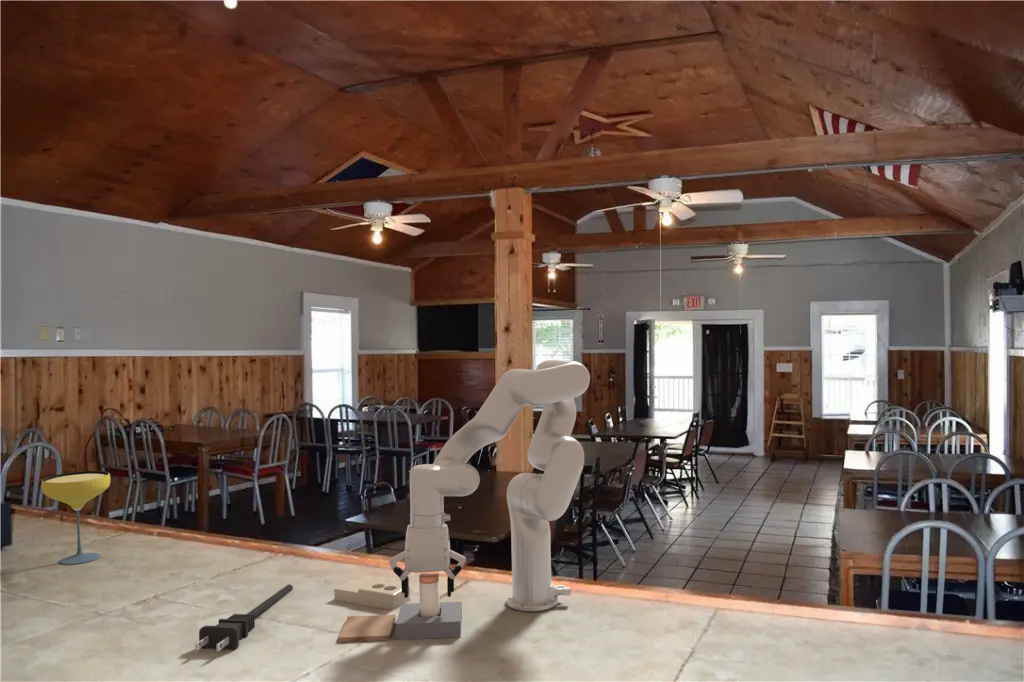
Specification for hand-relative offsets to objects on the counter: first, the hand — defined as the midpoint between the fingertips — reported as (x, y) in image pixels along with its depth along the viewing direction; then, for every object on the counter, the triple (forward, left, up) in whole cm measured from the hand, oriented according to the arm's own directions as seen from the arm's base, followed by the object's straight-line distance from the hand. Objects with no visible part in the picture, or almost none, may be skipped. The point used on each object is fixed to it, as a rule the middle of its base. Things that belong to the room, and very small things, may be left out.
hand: (428, 595), depth 178 cm
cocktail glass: (+109, -63, -8) cm, 126 cm away
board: (+14, 0, -8) cm, 16 cm away
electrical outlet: (+15, -20, -8) cm, 26 cm away
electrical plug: (+42, -9, -8) cm, 44 cm away
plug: (0, 0, -8) cm, 8 cm away
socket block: (0, 0, -8) cm, 8 cm away
